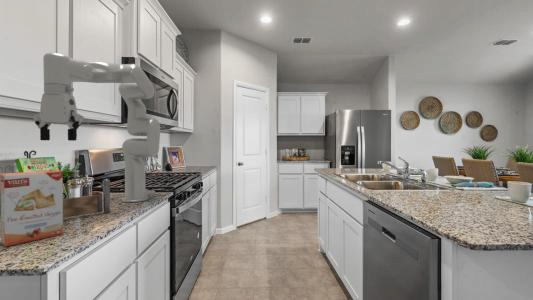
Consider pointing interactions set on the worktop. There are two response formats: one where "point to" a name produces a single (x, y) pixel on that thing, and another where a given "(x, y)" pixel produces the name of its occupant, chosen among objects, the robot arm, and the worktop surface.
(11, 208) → the cracker box
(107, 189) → the gatepost
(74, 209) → the gate
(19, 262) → the worktop surface
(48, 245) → the worktop surface
